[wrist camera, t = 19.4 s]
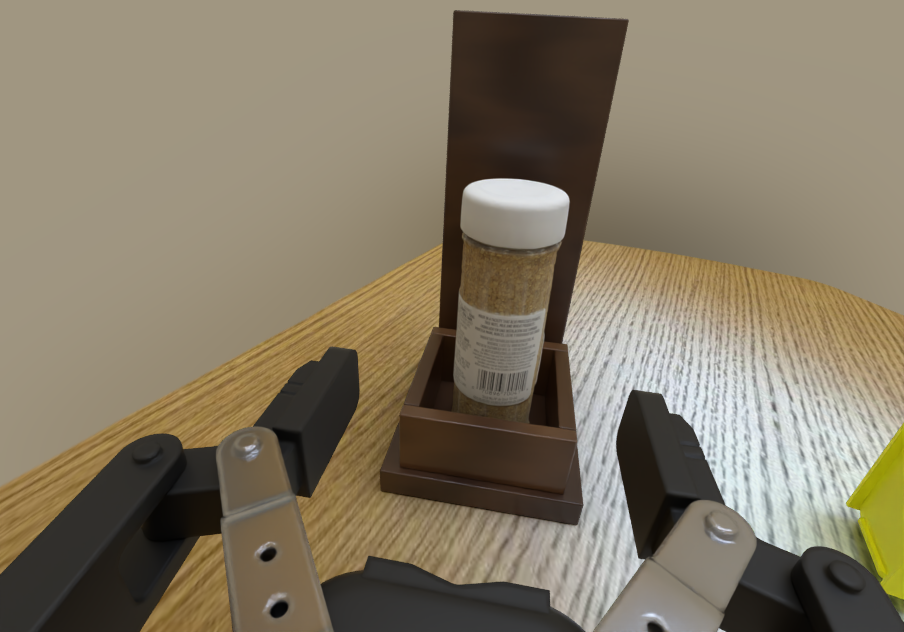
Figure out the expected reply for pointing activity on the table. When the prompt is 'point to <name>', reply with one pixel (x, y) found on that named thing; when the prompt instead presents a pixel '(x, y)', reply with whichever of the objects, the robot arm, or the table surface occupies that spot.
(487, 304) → the sprinkles bottle
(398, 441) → the walnut stand
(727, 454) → the table surface
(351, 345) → the table surface
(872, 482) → the yellow toy chassis
